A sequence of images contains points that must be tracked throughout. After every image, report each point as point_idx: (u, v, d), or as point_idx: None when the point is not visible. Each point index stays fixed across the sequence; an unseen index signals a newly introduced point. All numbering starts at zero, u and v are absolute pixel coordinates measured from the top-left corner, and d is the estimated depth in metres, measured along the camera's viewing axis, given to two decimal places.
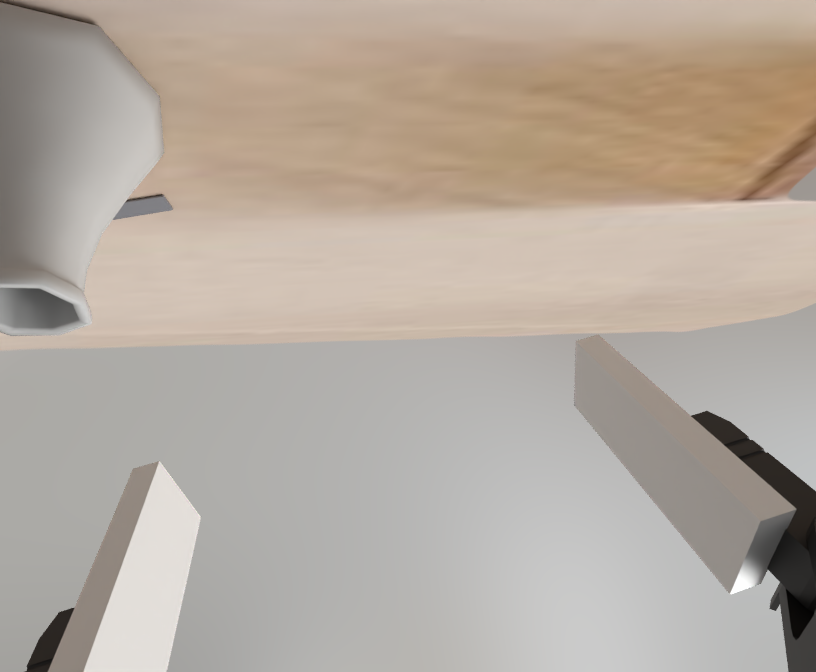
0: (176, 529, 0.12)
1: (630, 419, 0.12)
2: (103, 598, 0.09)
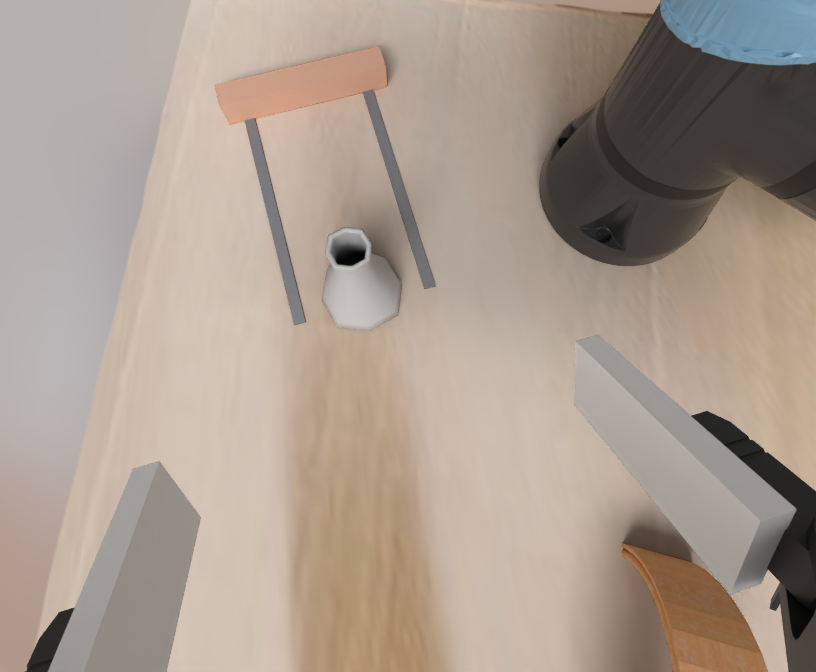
0: (176, 529, 0.12)
1: (630, 419, 0.12)
2: (103, 598, 0.09)
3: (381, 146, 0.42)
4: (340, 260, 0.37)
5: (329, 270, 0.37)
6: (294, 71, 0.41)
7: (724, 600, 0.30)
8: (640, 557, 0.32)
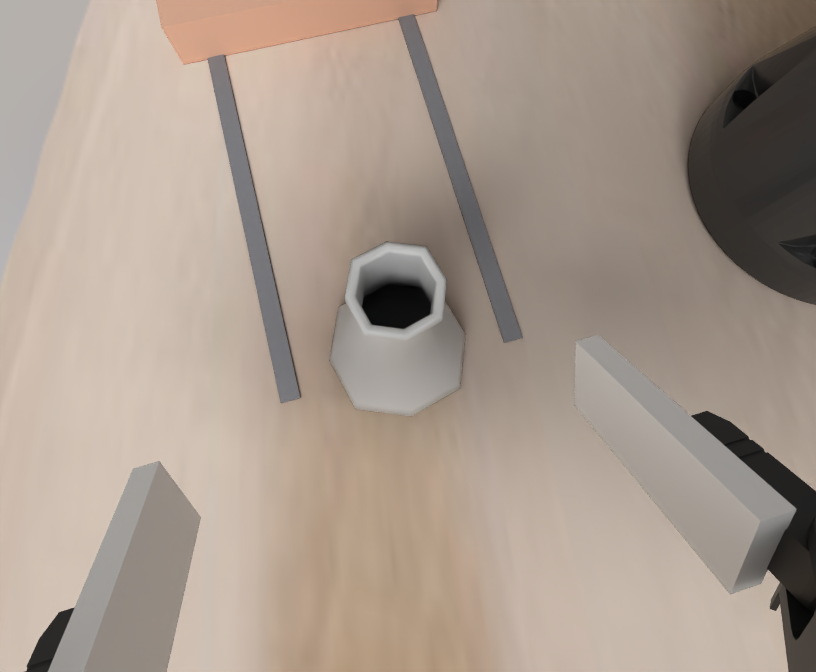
0: (176, 529, 0.12)
1: (630, 419, 0.12)
2: (103, 598, 0.09)
3: (428, 103, 0.26)
4: None
5: (344, 312, 0.21)
6: None
7: None
8: None
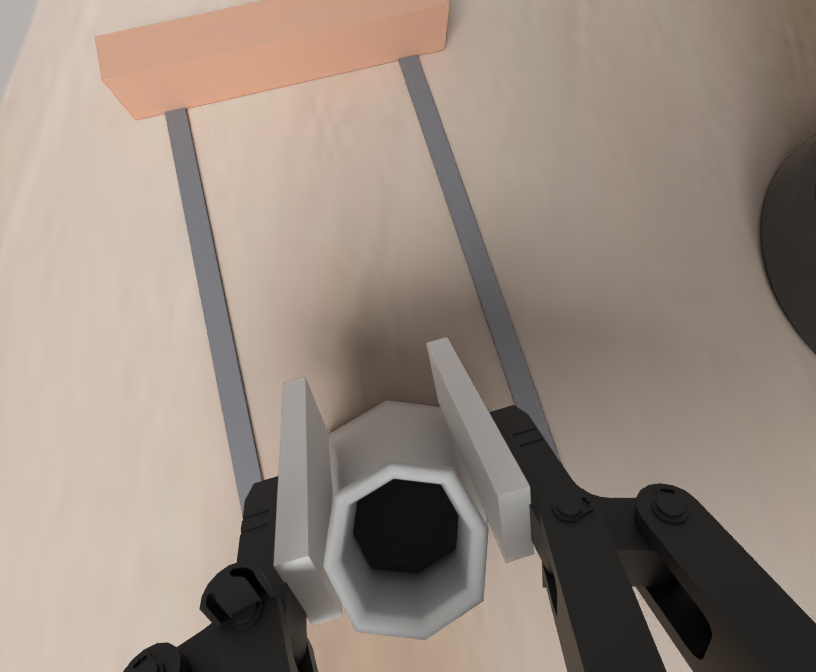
0: (321, 434, 0.15)
1: (452, 412, 0.13)
2: (301, 464, 0.11)
3: (437, 165, 0.21)
4: (359, 442, 0.15)
5: (332, 459, 0.16)
6: (261, 11, 0.20)
7: None
8: None
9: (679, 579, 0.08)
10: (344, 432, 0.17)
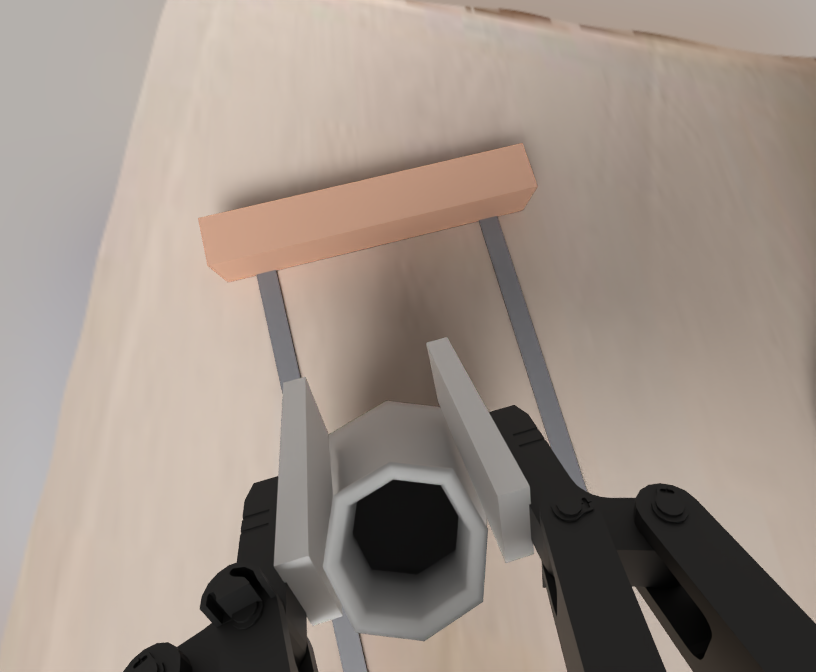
0: (321, 434, 0.15)
1: (452, 412, 0.13)
2: (300, 464, 0.11)
3: (518, 334, 0.22)
4: (359, 443, 0.15)
5: (332, 460, 0.16)
6: (357, 192, 0.21)
7: None
8: None
9: (679, 579, 0.08)
10: (344, 432, 0.17)
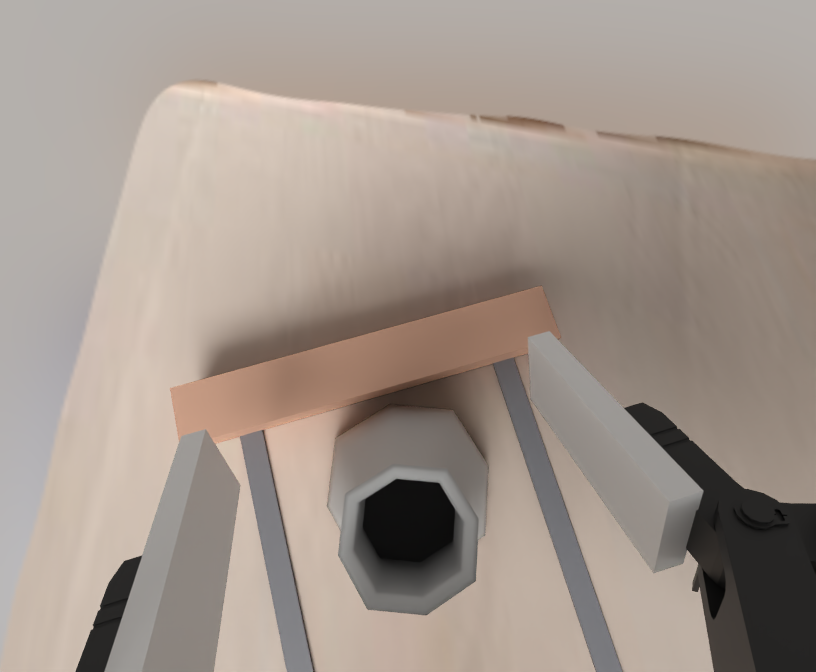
0: (222, 492, 0.13)
1: (572, 411, 0.12)
2: (169, 545, 0.10)
3: (543, 503, 0.19)
4: None
5: (342, 461, 0.17)
6: (353, 351, 0.18)
7: None
8: None
9: None
10: (351, 435, 0.18)
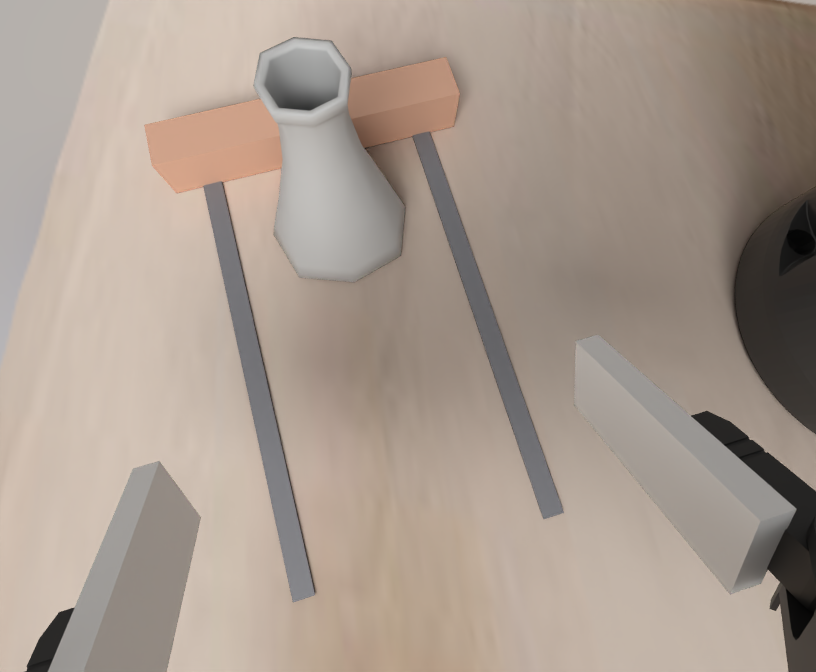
0: (176, 529, 0.12)
1: (630, 419, 0.12)
2: (103, 598, 0.09)
3: (449, 234, 0.24)
4: None
5: None
6: None
7: None
8: None
9: None
10: None
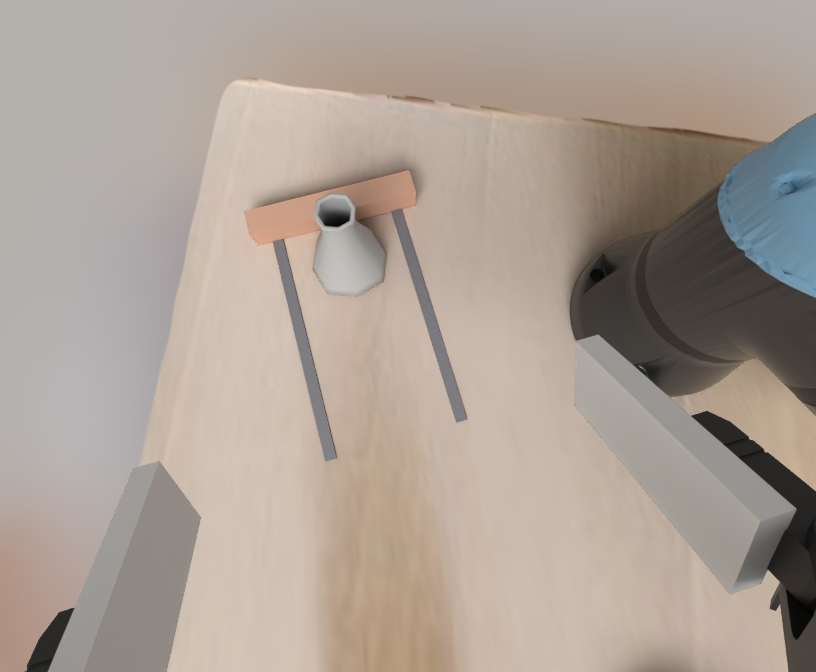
0: (176, 529, 0.12)
1: (630, 419, 0.12)
2: (103, 598, 0.09)
3: (410, 269, 0.42)
4: None
5: (318, 239, 0.40)
6: None
7: None
8: None
9: None
10: None
